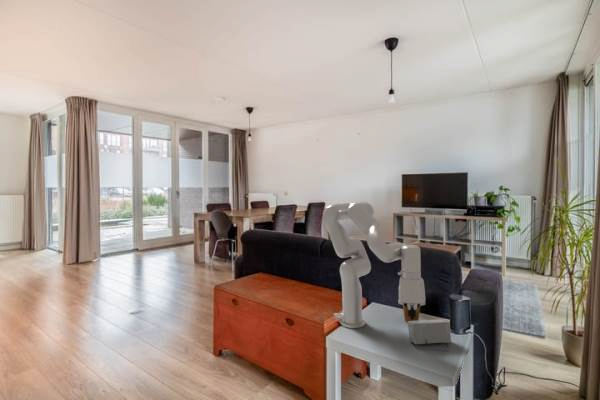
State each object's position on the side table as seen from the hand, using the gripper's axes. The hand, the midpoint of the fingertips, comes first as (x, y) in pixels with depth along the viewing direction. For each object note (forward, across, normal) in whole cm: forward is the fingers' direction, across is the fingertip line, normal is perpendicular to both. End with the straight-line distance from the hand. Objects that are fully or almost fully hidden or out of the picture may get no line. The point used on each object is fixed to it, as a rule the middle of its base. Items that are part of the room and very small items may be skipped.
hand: (411, 318), depth 127 cm
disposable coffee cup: (+12, +4, +24) cm, 27 cm away
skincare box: (+7, 0, +2) cm, 7 cm away
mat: (+12, +8, +3) cm, 14 cm away
